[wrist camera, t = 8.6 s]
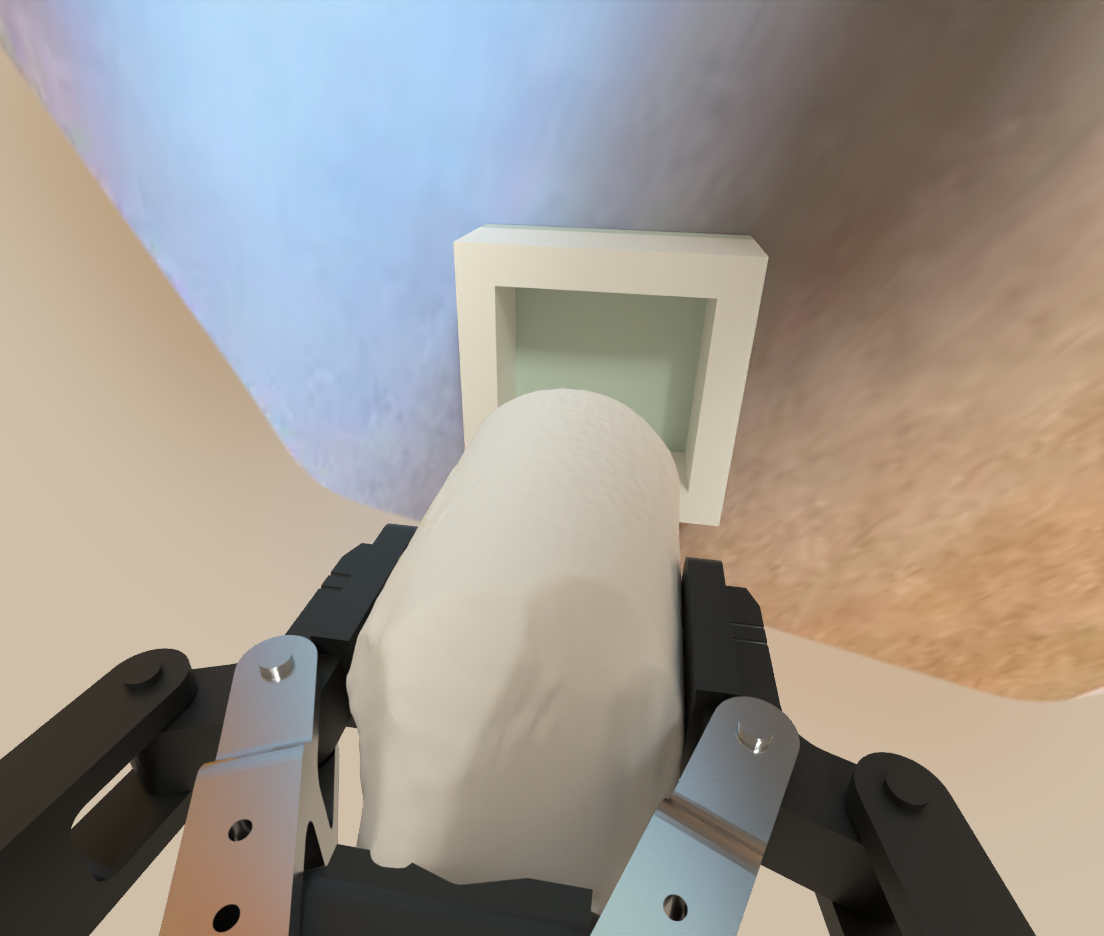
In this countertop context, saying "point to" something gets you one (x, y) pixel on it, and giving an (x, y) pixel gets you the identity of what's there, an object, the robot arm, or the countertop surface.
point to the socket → (616, 332)
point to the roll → (529, 655)
